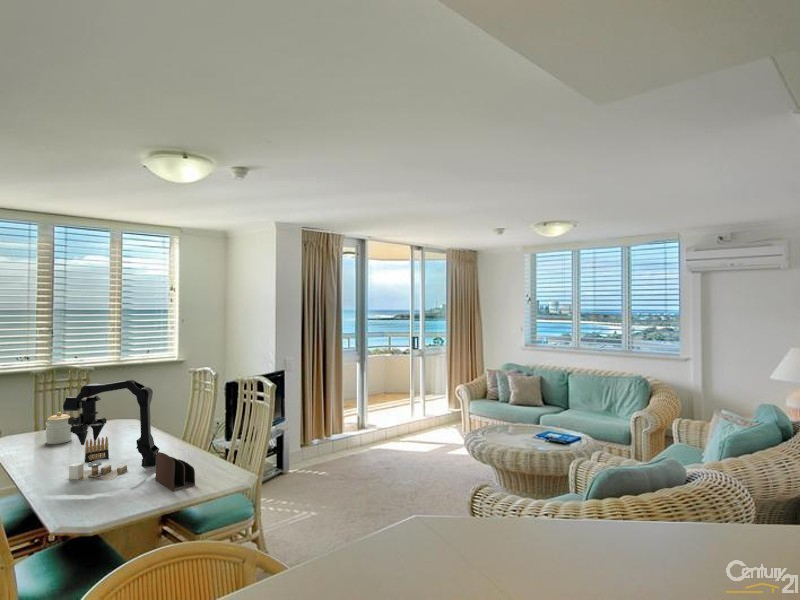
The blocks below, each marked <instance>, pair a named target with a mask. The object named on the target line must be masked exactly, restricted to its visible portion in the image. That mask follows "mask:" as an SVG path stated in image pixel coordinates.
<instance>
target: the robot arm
mask: <svg viewBox="0 0 800 600" xmlns="http://www.w3.org/2000/svg"><path fill="white" fill-rule="evenodd" d="M124 389H127V390H129V391H130V392H131V393H132V395H134V396H135V397H136V402H137V403H138V406H139V414H140V416H139V417H140V419H139V420H140V437H139V438H138V439H136V440H135V441H136V448H135V449H137V451H138V453H140V455H141V457H142V459H141V466H142V467H145V468H150V467H151V468H152V467H156V456H157V452H159V451H160V448H159V447H158V446H157V445H155V441H154V437H153V435H152V430H151V403H152V400H153V394H154V392H153V389H152V388H151V387H150V386H145V385H144V384H142V383H139V382H137V381H136V380H134V379H132V378H131V379H128V380H121V381H116V382H108V383H88V384H85V385H83V386H82V387H81V388H80V391H79V393H78V394H77V396H67V397H65V400H64V402H63V406H62V409H63V411H64V412H79V411H80V410H81V413H79V416H77V417H74V416H72V417H71V416H70V418H68V424H69V425H71V426H72V427H71V428H70V432H72V434H74V435H76V436H77V438H78V440H79V443H80V445H81V446H84V445H86V440H87V437H88V434H89V433H88V432H89V430H88V429H89V428H91V429H92V436H93V437H92V438H93V441H94V440H96V441H98V438H99V436H100V433H101V431H102V429H103V428H104V426H105V425H106V424H107V418H106V417H97V414H99V411H97V402H100V401H101V398H100V397H99V394H101V393H106V392H112V391H118V390H124ZM85 398H86V399H85Z"/></svg>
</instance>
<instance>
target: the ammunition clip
mask: <svg viewBox="0 0 800 600" xmlns="http://www.w3.org/2000/svg"><path fill="white" fill-rule="evenodd" d="M109 453H110V451H109V437H108V436H105V438H104V436H103V437H101V439H100V437H98V438H97V440H94V439H93V440H92V438H90V440H88V439H86V440H85V447H84V464H85V463H88V464H90V463H89V462H91V463H94V462H95V461H97V460H109V459H110V454H109Z"/></svg>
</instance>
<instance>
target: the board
mask: <svg viewBox="0 0 800 600" xmlns="http://www.w3.org/2000/svg"><path fill="white" fill-rule="evenodd" d="M98 473H101V469H98ZM90 474H92V469H84V476H83V477H81V478H79V479H69V477H67V478H66V479H65V481H111V480H113V479H115V478H116V477H118V476H120V475H121V474H117V469H111V471H109V472H107V473H105V474H101V476H99V477H95V478H89V477H88V475H90Z"/></svg>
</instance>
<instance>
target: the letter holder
mask: <svg viewBox="0 0 800 600" xmlns="http://www.w3.org/2000/svg"><path fill="white" fill-rule="evenodd" d="M154 480H155V481H156V482H157V483H159V484H161V485H162V486H163V487H165V488H167V489H168V490H170V491H171V492H177V491H180V490H183V489H186V488H191V487H195V486H196V470H195V468H194V467H193V466H192V464H190V463H188V462H187V461H185V460H183V459H179V458H178V459H177V458H175V457H174V456H170V455H168V454H166V453H164V452H159V451H158V452H157V456H156V466H155V478H154Z"/></svg>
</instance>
